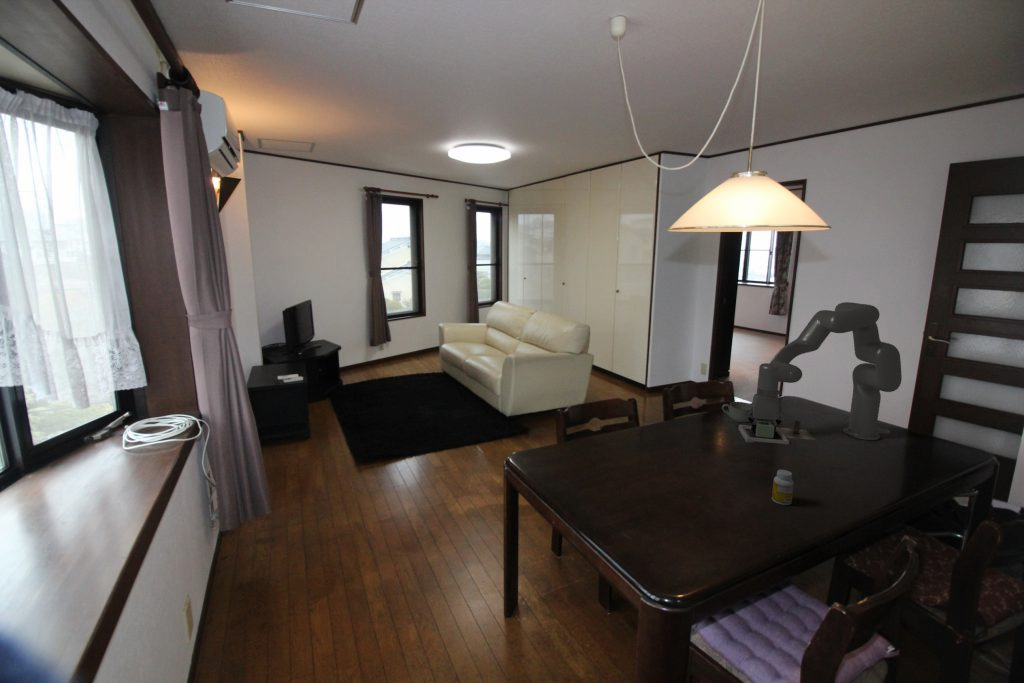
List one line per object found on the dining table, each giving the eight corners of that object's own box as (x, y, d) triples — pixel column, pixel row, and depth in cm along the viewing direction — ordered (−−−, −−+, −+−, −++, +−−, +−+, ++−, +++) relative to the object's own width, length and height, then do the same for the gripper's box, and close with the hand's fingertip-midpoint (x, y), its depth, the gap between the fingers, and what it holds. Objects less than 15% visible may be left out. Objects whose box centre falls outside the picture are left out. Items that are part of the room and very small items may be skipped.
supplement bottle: (773, 494, 146) (776, 466, 144) (792, 500, 143) (796, 471, 141) (770, 501, 142) (773, 472, 140) (789, 507, 139) (793, 478, 137)
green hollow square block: (769, 432, 195) (770, 421, 195) (773, 438, 189) (774, 426, 188) (752, 430, 197) (753, 420, 196) (756, 436, 191) (757, 425, 190)
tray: (777, 432, 199) (777, 427, 198) (788, 446, 184) (789, 441, 184) (738, 429, 203) (739, 424, 202) (746, 442, 188) (747, 437, 188)
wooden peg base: (806, 432, 200) (808, 418, 198) (816, 442, 188) (818, 427, 187) (776, 429, 203) (777, 415, 202) (784, 439, 191) (786, 424, 190)
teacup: (754, 420, 215) (756, 403, 213) (752, 427, 206) (754, 410, 204) (722, 414, 222) (724, 399, 221) (719, 421, 213) (720, 405, 212)
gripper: (787, 391, 191) (782, 432, 194) (742, 389, 196) (739, 428, 199) (793, 397, 184) (788, 438, 187) (746, 393, 189) (742, 434, 192)
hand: (763, 432), depth 193 cm, fingers closed on green hollow square block, 6 cm apart
